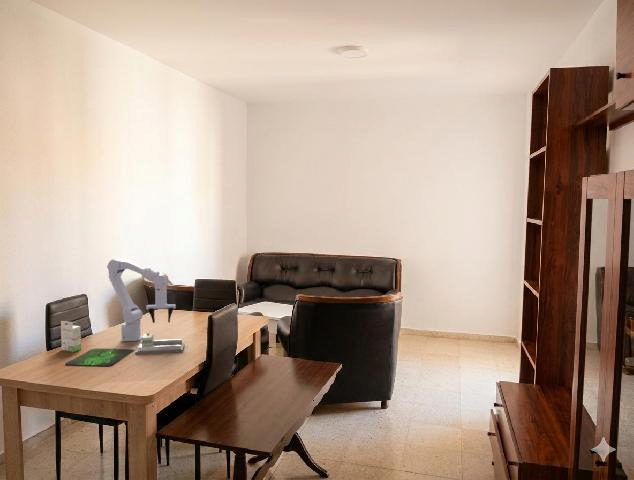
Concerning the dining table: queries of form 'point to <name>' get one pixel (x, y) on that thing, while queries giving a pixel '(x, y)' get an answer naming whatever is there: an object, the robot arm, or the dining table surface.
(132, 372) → the dining table surface
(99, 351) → the mouse mat
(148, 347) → the rail
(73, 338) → the ink box
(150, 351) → the mounting board
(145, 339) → the module
